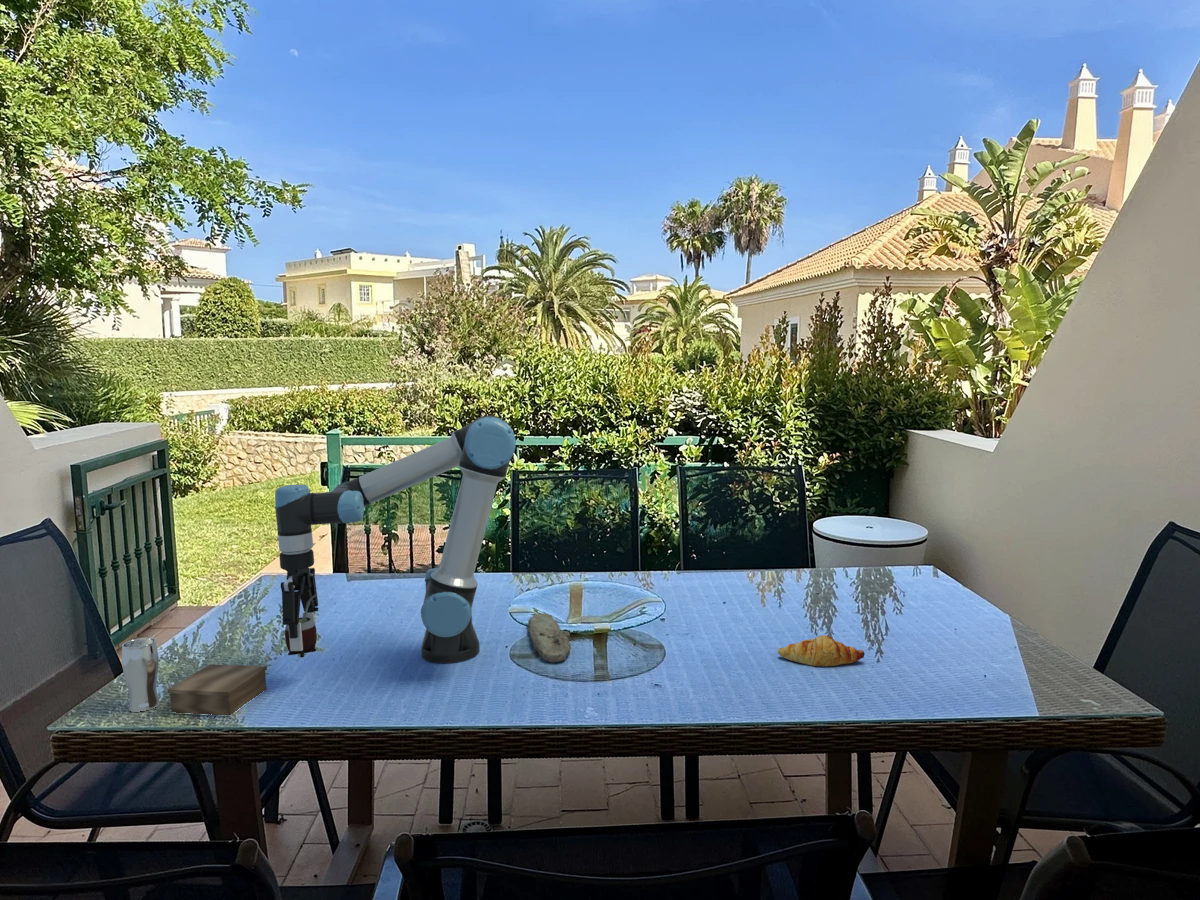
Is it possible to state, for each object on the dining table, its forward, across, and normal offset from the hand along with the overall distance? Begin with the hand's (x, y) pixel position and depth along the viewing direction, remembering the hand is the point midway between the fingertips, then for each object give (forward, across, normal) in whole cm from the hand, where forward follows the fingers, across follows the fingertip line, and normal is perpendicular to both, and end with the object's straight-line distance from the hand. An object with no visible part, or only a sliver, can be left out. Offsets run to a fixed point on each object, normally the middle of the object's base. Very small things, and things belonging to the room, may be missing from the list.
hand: (303, 644), depth 183 cm
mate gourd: (+2, 0, 0) cm, 2 cm away
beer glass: (+9, +13, -32) cm, 35 cm away
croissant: (+13, -15, +126) cm, 128 cm away
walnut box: (+10, +10, -16) cm, 21 cm away
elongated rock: (+12, -29, +55) cm, 63 cm away
